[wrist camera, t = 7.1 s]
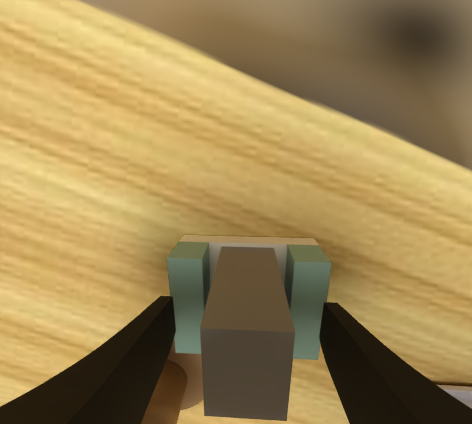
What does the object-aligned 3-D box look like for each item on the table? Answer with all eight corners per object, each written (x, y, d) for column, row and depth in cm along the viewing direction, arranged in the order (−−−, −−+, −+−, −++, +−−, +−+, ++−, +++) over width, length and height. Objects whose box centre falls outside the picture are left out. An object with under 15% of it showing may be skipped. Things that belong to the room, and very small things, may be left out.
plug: (273, 247, 13) (295, 332, 7) (270, 306, 14) (286, 421, 8) (221, 246, 13) (199, 327, 7) (222, 304, 14) (204, 415, 8)
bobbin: (210, 332, 16) (186, 456, 9) (213, 402, 18) (194, 542, 11) (116, 328, 16) (31, 444, 10) (128, 396, 18) (64, 530, 12)
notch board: (313, 238, 13) (331, 262, 10) (304, 319, 15) (317, 359, 12) (183, 234, 14) (166, 258, 11) (188, 314, 15) (175, 352, 13)
